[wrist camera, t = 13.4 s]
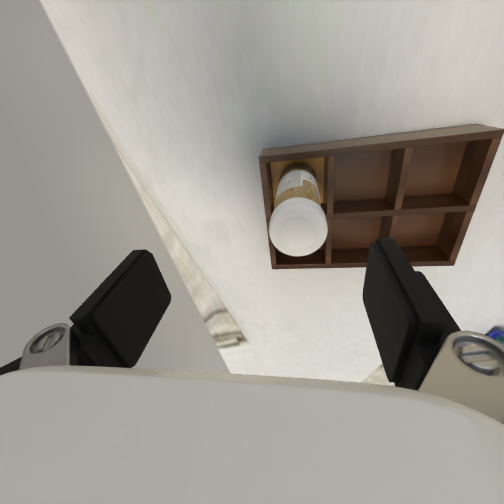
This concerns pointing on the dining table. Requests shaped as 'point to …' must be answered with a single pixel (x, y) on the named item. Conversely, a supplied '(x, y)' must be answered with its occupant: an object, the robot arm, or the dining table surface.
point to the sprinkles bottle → (298, 212)
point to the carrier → (389, 192)
